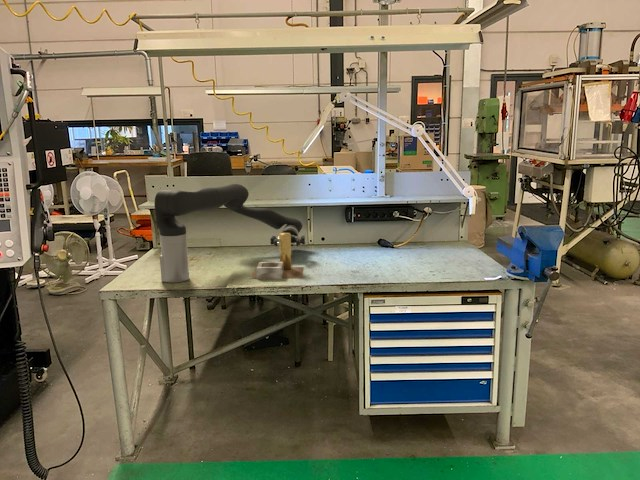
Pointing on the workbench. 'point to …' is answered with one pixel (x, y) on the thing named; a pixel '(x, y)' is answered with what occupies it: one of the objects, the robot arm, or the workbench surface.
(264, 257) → the workbench surface
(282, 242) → the golden metal peg
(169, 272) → the robot arm
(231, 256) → the workbench surface
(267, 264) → the socket block
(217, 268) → the workbench surface
